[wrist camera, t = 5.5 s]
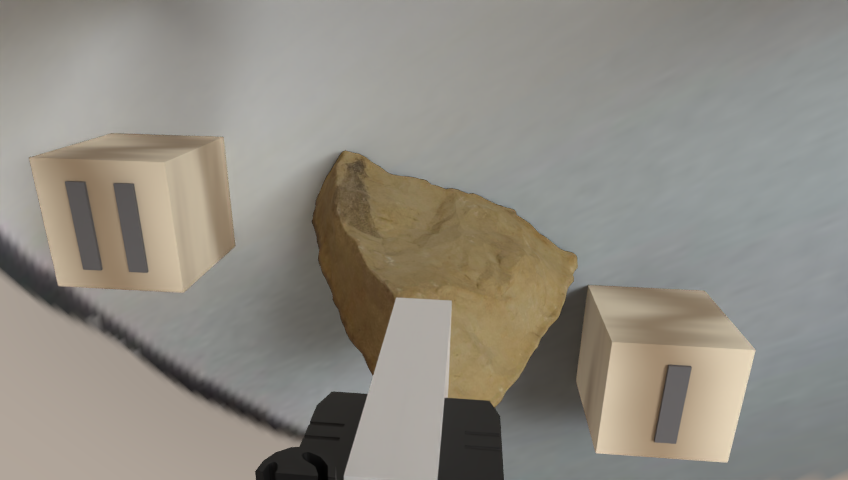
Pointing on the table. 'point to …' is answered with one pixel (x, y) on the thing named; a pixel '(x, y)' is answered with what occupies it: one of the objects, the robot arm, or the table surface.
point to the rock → (439, 270)
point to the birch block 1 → (135, 210)
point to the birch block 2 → (661, 373)
